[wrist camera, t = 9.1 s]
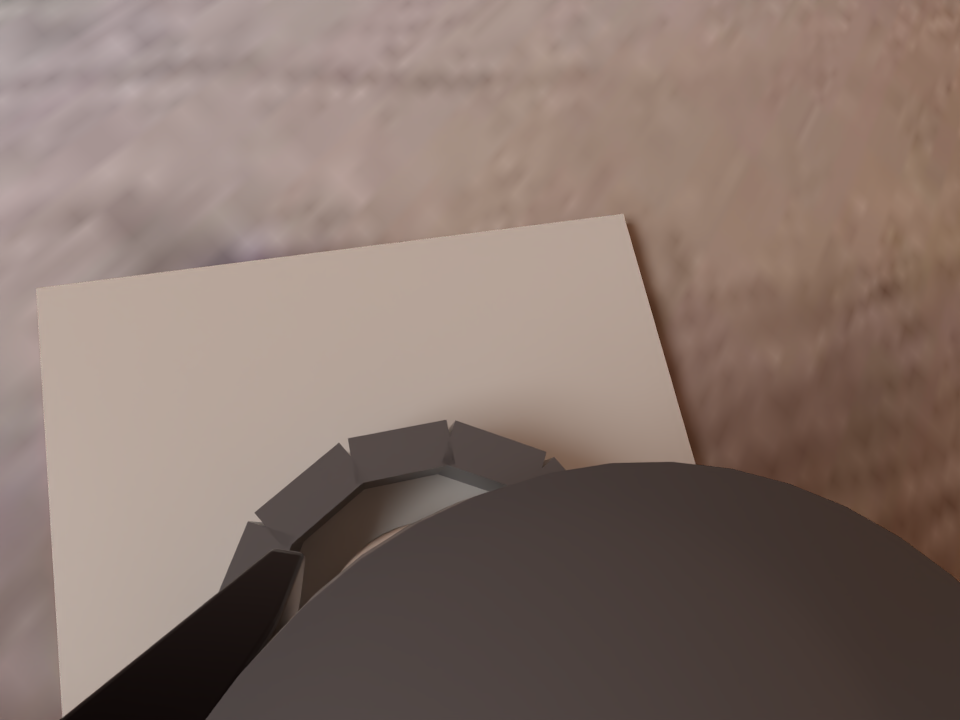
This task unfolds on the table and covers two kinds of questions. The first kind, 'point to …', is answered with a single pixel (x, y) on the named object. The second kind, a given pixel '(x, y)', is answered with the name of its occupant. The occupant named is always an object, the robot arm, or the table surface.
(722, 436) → the table surface
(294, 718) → the canister
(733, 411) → the table surface
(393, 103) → the table surface
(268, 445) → the socket
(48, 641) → the table surface
